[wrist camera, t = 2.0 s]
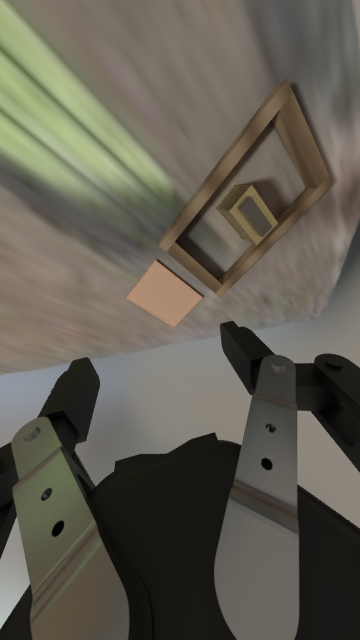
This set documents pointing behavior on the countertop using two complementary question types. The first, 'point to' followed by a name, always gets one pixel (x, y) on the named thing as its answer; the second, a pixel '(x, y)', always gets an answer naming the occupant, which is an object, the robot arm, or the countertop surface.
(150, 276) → the mat
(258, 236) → the lever cap
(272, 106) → the open wooden frame
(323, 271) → the countertop surface
